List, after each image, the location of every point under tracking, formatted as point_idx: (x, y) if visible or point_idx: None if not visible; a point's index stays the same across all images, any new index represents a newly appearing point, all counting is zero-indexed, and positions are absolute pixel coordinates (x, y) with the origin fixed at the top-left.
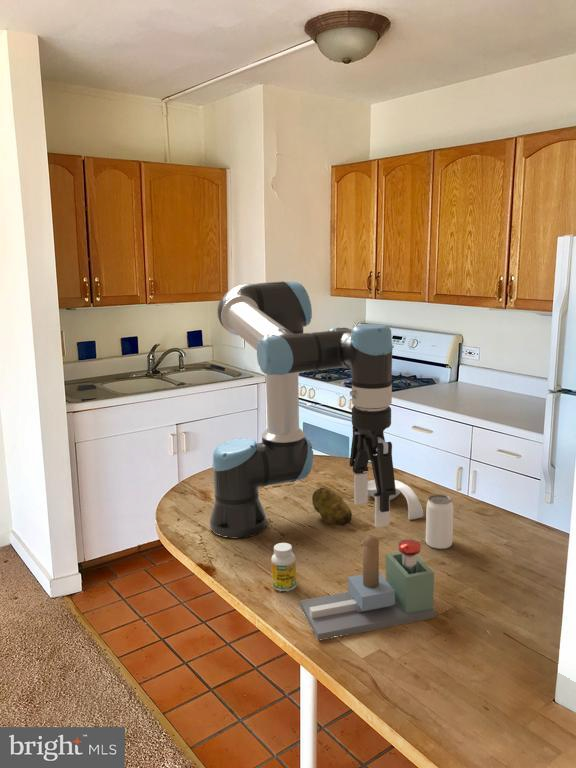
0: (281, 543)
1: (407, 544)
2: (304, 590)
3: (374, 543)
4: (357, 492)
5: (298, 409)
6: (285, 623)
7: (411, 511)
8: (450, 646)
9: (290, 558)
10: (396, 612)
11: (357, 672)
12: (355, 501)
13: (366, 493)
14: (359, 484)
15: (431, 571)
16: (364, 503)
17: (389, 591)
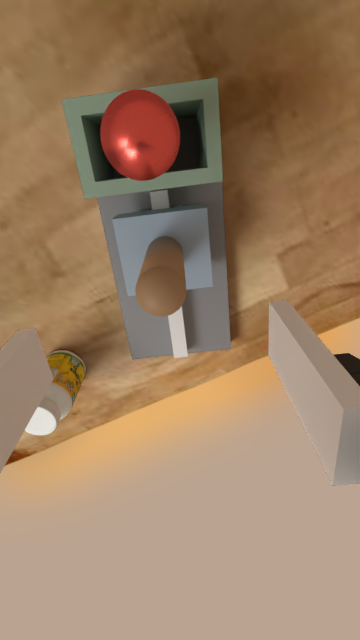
0: None
1: (138, 145)
2: (82, 338)
3: (184, 290)
4: (26, 412)
5: None
6: (174, 377)
7: None
8: (316, 111)
9: (57, 396)
10: (202, 197)
11: (317, 303)
12: (46, 388)
13: (15, 362)
14: (1, 438)
15: (208, 83)
16: (40, 343)
17: (205, 221)
